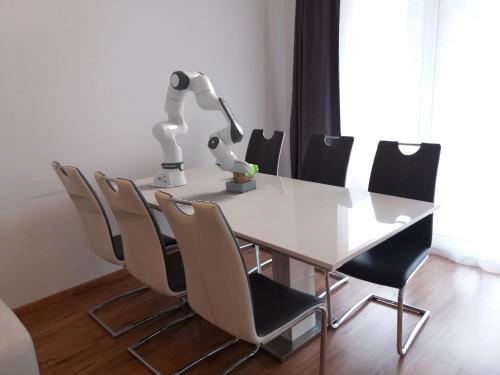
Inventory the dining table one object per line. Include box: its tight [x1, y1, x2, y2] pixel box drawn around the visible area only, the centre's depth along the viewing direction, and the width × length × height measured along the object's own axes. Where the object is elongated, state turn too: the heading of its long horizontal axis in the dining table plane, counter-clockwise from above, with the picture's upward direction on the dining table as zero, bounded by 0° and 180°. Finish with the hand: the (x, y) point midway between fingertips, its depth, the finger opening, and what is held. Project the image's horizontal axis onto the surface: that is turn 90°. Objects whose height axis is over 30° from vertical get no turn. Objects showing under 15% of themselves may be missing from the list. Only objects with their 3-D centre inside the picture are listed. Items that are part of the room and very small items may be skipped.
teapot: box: [248, 163, 259, 180], centre depth 260 cm, size 12×12×10 cm
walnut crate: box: [232, 172, 249, 184], centre depth 229 cm, size 6×6×8 cm
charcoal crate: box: [225, 178, 257, 194], centre depth 230 cm, size 12×12×5 cm
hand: (241, 174), depth 229 cm, fingers closed on walnut crate, 6 cm apart
